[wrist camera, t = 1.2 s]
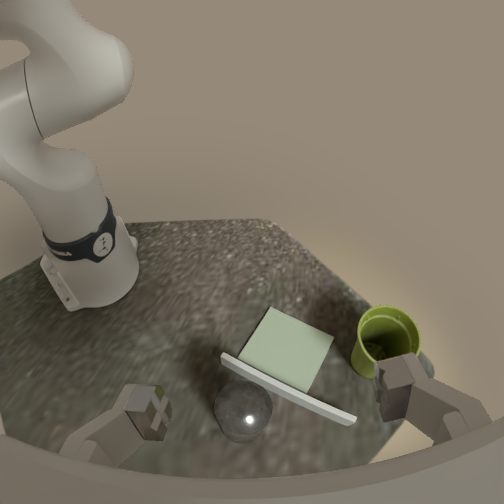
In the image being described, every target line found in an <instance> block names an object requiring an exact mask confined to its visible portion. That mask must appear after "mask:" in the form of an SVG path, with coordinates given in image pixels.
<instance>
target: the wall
mask: <svg viewBox="0 0 504 504" xmlns="http://www.w3.org/2000/svg"><path fill="white" fill-rule="evenodd" d="M220 357H221V364H222V365H224V366H226V367H227V368H229V369H231V370H233V371H234V372H236V373H238V374H240V375H242V376H244V377H245V378H247V379H249V380H251V381H253V382H255V383H257V384H259V385H260V386H262V387H264V388H266V389H268V390H270V391H272V392H274V393H276V394H278V395H280V396H282V397H284V398H286V399H288V400H290V401H292V402H294V403H296V404H299V405H301V406H303V407H305V408H307V409H309V410H311V411H314V412H316V413H318V414H320V415H322V416H325V417H327V418H329V419H331V420H334V421H336V422H338V423H341V424H343V425H346V426H349V425H351V424H353V423H355V421H356V419H357V417H355V416H353V415H351V414H348V413H346V412H344V411H341V410H339V409H337V408H334V407H332V406H330V405H328V404H325V403H323V402H321V401H319V400H317V399H314V398H312V397H310V396H308V395H306V394H304V393H302V392H300V391H297V390H295V389H293V388H291V387H289V386H287V385H285V384H283V383H281V382H279V381H277V380H275V379H273V378H271V377H269V376H267V375H265V374H263V373H262V372H260V371H258V370H256V369H254V368H252V367H250V366H248V365H246V364H245V363H243V362H241V361H239V360H237V359H235V358H234V357H232V356H230V355H228V354H226V353H225V352H223V354H222V355H221V356H220Z"/></svg>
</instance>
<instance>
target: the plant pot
mask: <svg viewBox="0 0 504 504" xmlns="http://www.w3.org/2000/svg"><path fill="white" fill-rule="evenodd" d="M357 337H358V338H357V341H356V343H355V346H354V348H353V351H352V354H351V364H352V367H353V369H354V370H355V371H356V372H357V373H359V374H360V375H361V376H362V377H365V378H374V377H375V376H376V374H375V371H374V364H375V362H376V361H380V360H382V356H383V357H384V359H389V358H393V357H397V356H400V355H404V354H408V353H411V352H413V353H415V355H416V357H417V356H418V354H419V352H420V348H421V334H420V331H419V328H418V326H417V324H416V323H415V321H414V320H413V319H412V317H411V316H410V315H409V314H407V313H406V312H405V311H403V310H401V309H399V308H397V307H394V306H391V305H379V306H375V307H373V308H371V309H369V310H368V311H366V312H365V313H364V314H363V316H362V317H361V319H360V321H359V324H358V328H357ZM365 345H371V346H372V347H364V346H365Z"/></svg>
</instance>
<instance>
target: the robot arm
mask: <svg viewBox="0 0 504 504" xmlns="http://www.w3.org/2000/svg"><path fill="white" fill-rule="evenodd" d="M0 40H17V41H21V42H22V43H24V44H25V45H26V46H27V47H28V48H29V50H30V55H29V56H28V57H26V58H25V59H23V60H21V61H19V62H16V63H14V64H12V65H10V66H8V67H6V68H4V69H2V70H0V179H1V180H3V181H4V182H6V183H7V184H9V185H10V186H11V187H13V188H14V189H15V190H16V191H17V192H18V193H19V194H20V195H21V196H22V197H23V198H24V199H25V201H26V202H27V204H28V206H29V207H30V209H31V211H32V212H33V214H34V216H35V217H36V219H37V221H38V222H39V224H40V226H41V228H42V230H43V237H44V239H43V241H42V244H41V248H42V250H43V251H44V253H45V254H44V256H43V258H42V260H41V262H40V265H41V267H42V269H43V271H44V273H45V275H46V276H47V278H48V280H49V282H50V283H51V285H52V287H53V288H54V290H55V292H56V293H57V295H58V296H59V298H60V300H61V301H62V303H63V304H64V306H65V307H66V309H67V310H68V311H76V310H78V309H81V308H84V307H103V306H106V305H109V304H112V303H114V302H116V301H117V300H119V299H121V298H122V297H123V296H124V295H125V294H127V293H128V291H129V290H130V289H131V288H132V286H133V285H134V283H135V281H136V279H137V277H138V273H139V262H138V258H137V255H136V252H137V248H138V242H137V240H136V238H135V237H132V236H129V234H128V232H127V229H126V227H125V225H124V223H123V221H122V219H121V217H119V216H116V215H115V214H114V209H113V207H112V205H111V204H110V201H109V199H108V198H107V197H106V196H105V193H104V190H103V187H102V184H101V181H100V177H99V174H98V171H97V167H96V165H95V163H94V161H93V160H92V159H91V158H90V157H89V156H88V155H86V154H85V153H82V152H80V151H77V150H74V149H62V148H54V147H51V146H49V145H47V144H46V143H44V142H43V140H44V139H45V138H47V137H49V136H52V135H54V134H56V133H59V132H61V131H63V130H66V129H68V128H71V127H73V126H76V125H78V124H81V123H83V122H86V121H88V120H91V119H93V118H95V117H97V116H99V115H100V114H102V113H104V112H106V111H107V110H109V109H111V108H113V107H115V106H116V105H118V104H120V103H122V102H123V101H124V100H125V98H126V97H127V95H128V93H129V91H130V88H131V86H132V82H133V76H134V66H133V60H132V57H131V54H130V52H129V50H128V49H127V47H126V46H125V45H124V44H123V43H122V42H121V41H120V40H119V39H118V38H116V37H114V36H112V35H110V34H107V33H105V32H103V31H100V30H98V29H97V28H95V27H93V26H92V25H90V24H89V23H88V22H87V21H86V20H84V19H83V18H82V17H81V16H80V14H79V13H78V12H77V11H76V10H75V8H74V7H73V5H72V3H71V1H70V0H0ZM68 300H69V301H68ZM374 371H375V374H376V376H375V377H374V378H373V387H374V394H375V398H376V401H377V402H378V403H380V408H379V411H380V414H381V417H382V420H383V423H385V422H389V421H394V420H398V419H402V418H405V419H406V420H407V421H409V422H410V423H411V424H413V425H414V426H415V427H417V428H418V429H419V430H420V431H422V432H423V433H424V434H426V435H427V436H428V437H430V438H431V439H432V440H434V443H433V445H432V447H429V448H426V449H423V450H420V451H416V452H413V453H410V454H406V455H403V456H399V457H396V458H392V459H388V460H384V461H380V462H376V463H371V464H367V465H362V466H357V467H352V468H347V469H341V470H335V471H329V472H323V473H315V474H307V475H299V476H288V477H275V478H256V479H210V478H190V477H177V476H167V475H158V474H150V473H143V472H136V471H130V470H124V469H119V468H117V467H118V466H119V465H120V464H121V463H122V462H123V461H124V460H125V459H127V458H128V457H129V456H130V455H131V454H132V453H133V452H134V451H135V450H136V449H137V448H138V447H139V446H140V445H141V444H142V443H143V442H144V440H147V441H163V440H164V437H165V434H166V431H167V428H166V426H165V425H166V424H167V423H168V422H170V419H171V416H172V408H171V404H170V402H169V400H168V399H167V398H165V397H164V396H163V395H164V390H163V388H162V386H160V385H144V384H127V385H125V386H124V388H123V390H122V392H121V393H120V395H119V397H118V399H117V401H116V402H115V404H114V406H113V408H112V410H107V411H106V412H104V413H103V414H101V415H100V416H98V417H97V418H95V419H94V420H92V421H90V422H89V423H87V424H86V425H84V426H83V427H81V428H80V429H78V430H76V431H75V432H73V433H72V434H70V435H69V436H68V438H67V440H66V441H65V443H64V445H63V446H62V448H61V450H60V451H59V453H58V454H57V453H54V452H50V451H47V450H44V449H41V448H38V447H35V446H32V445H30V444H27V443H24V442H22V441H19V440H16V439H14V438H12V437H9V436H7V435H0V504H504V417H502V418H500V419H498V420H496V421H494V422H492V421H491V419H490V417H489V415H488V414H487V412H486V410H485V408H484V407H483V405H482V404H481V402H480V401H479V400H477V399H475V398H473V397H471V396H469V395H467V394H464V393H462V392H460V391H458V390H456V389H454V388H452V387H450V386H448V385H446V384H444V383H441V382H439V381H437V380H435V379H433V378H432V379H429V378H428V376H427V374H426V372H425V371H424V369H423V367H422V365H421V364H420V362H419V360H418V358H417V357H416V355H415V353H413V352H411V353H408V354H404V355H400V356H397V357H393V358H389V359H384V360H380V361H376V362H375V364H374Z"/></svg>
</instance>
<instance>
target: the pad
mask: <svg viewBox="0 0 504 504" xmlns="http://www.w3.org/2000/svg"><path fill="white" fill-rule="evenodd" d="M333 339H334V337H333V336H331V335H329V334H326V333H324V332H322V331H320V330H318V329H316V328H314V327H311V326H309V325H307V324H305V323H303V322H301V321H299V320H297V319H295V318H293V317H290V316H288V315H286V314H284V313H282V312H280V311H278V310H276V309H274V308H272V307H270V309H269V310H268V312H267V313H266V315H265V316H264V318H263V320H262V321H261V323H260V324H259V326H258V327H257V329H256V330H255V332H254V334H253V335H252V337H251V338H250V340H249V341H248V343H247V344H246V346H245V347H244V349H243V350H242V352H241V353H240V355H239V356H238V358H237V359H239V360H240V361H242V362H244V363H246V364H248V365H250V366H252V367H253V368H255V369H257V370H259V371H261V372H263V373H265V374H267V375H269V376H271V377H273V378H275V379H277V380H279V381H281V382H283V383H285V384H287V385H289V386H291V387H293V388H295V389H297V390H299V391H301V392H303V393H305V394H307V392H308V390H309V388H310V386H311V384H312V382H313V380H314V378H315V376H316V374H317V372H318V370H319V368H320V366H321V364H322V362H323V360H324V358H325V356H326V354H327V352H328V349H329V347H330V345H331V343H332V341H333Z"/></svg>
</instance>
